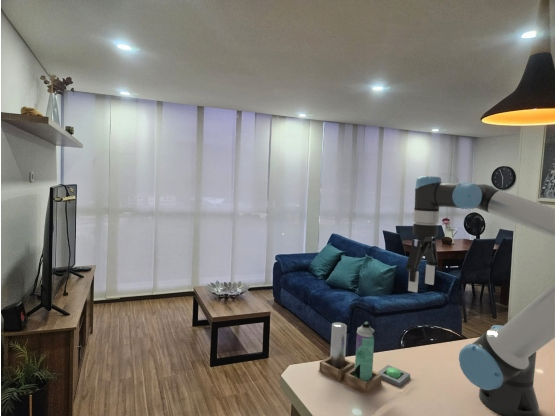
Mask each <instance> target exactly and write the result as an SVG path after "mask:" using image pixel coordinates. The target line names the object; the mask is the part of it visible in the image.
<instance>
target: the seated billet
mask: <svg viewBox="0 0 555 416" xmlns="http://www.w3.org/2000/svg"><path fill="white" fill-rule="evenodd" d="M347 328H348V325H347V324H346V323H343V322H337V321H335V322H332V324H331V335H330V336H331V337H330V356H329V357H330V365H331V366H333V367H335V368H338V369H342V368H343V367H345V359H346V350H347V349H346V348H347V347H346V346H347V331H348V330H347Z"/></svg>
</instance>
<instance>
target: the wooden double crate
mask: <svg viewBox="0 0 555 416" xmlns="http://www.w3.org/2000/svg"><path fill="white" fill-rule="evenodd" d="M317 372H319V373H321V374H322V375H325V376H326V377H329V378H330V379H332V380H335V381H337V382H338V383H341V384H342V385H345V386H347V387H349V388H350V389H353V390H355V391H357V392H358V393H361V394H363V395H364V396H369V395H370V394H372V393H373V392H374V391H376V389H378V388H380V387H381V386H382V385H383V384H384V383H383V382H382V381H383V380H382V375H381V374H379V373H377V372H378V371H377V372H376V371H374V370H372V379H371V380H370V381H368V382H366V381H363V380H361V379H359V378H357V377H355V361H354V362H353V361H350V360H349V359H347V358H345V367H343V368H342V369H338V368H335V367H333V366H331V365H330V356H328V357H326V358H324V359H323V360H321V361H319V370H317Z"/></svg>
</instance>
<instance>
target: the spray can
mask: <svg viewBox="0 0 555 416" xmlns="http://www.w3.org/2000/svg"><path fill="white" fill-rule="evenodd" d="M355 339H356V341H355V343H356V344H355V361H354V363H355V377H357V378H359V379H361V380H363V381H366V382H368V381H370V380H371V379H372V371H374V370H373V369H374V368H373V366H374V349H375V348H374V347H375V329H374V328H372V327H371V326H370V322H369V321H363V323H362V324H361V326H358V327H357V330H356V338H355Z"/></svg>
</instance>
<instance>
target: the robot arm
mask: <svg viewBox="0 0 555 416" xmlns="http://www.w3.org/2000/svg"><path fill="white" fill-rule="evenodd" d="M414 192H415V193H414V208H413V209H414V211H413V213H412V215H413V222H414V223H413V225H412V234H413V235H414V236H416V239H412V240H411V242H412V243H411V248H410V251H409V254H408V255H409V256H408V258H407V262H406V267H405V270H406V271H408V286H407V287H408V288H407V291H408V292H412V293H418V290H419V289H418V287H419V286H418V285H419V276H420V274H419V273H420V272H419V271H418V270H419V268H420V264H421V262H422V260H423V256H424V257H425V260H426V263H427V264H425V276H424V277H425V278H424V284H427V285H432V286H434V284H435V274H436V273H435V269H436V267H437V266H439V258H438V251H437V236H438V233H439V232H438V231H439V226H438V224H439V219H440V218H439V217H440V208H443V207H444V208H454V209H461V210H468V209H470V210H473V209H478V210H481V211H484V212H486V213H489V214H492V215H494V216H497V217H499V218H502V219H505V220H507V221H510V222H512V223H514V224H517V225H520V226H522V227H525V228H528V229H531V230H533V231H536V232H538V233H541V234H543V235H545V236H548V237H551V238H553V239H555V208H554V207H552V206H548V205H545V204H542V203H539V202H537V201H533V200H530V199H527V198H525V197H522V196H521V197H520V196H518V195H515V194H512V193H509V192H506V191H503V190H499V189H497V188H495V187H494V186H493V185H489V184H483V183H482V184H478V183H470V182H442V178H441V177H440V176H431V175H430V176H427V175H426V176H425V175H423V176H418V177H417V178H416V180H415V189H414ZM554 339H555V282H554V283H553V284H551V285H550V286H548V288H547V289H545V290H544V291H543V292H541V294H539V295H538V296H537V297H536V298H535V299H533V301H531V302H530V303H528V304H527V306H525V307H524V308H523V309H522V310H520V311H519V312H518V313H517V314H516V315H515V316H514V317H512V318H511V319H509V321H508V322H506V323H505V324H504V325H501V324H500V325H499V324H497V325H496V324H494V325H492V326H491V327H490V329H488V330H487V331H485V332H484V333H483V334H482V335H481V336H479V338H477V339H476V340H475V341H474V342H472V343H469V344H466V345H465V346H463V347H462V348H461V349H460V351H459V353H458V362H459V367H460V369H461V371H462V373H463V375H464V376H465V377H466V379H467V380H468V381H469V382H470V383H471V384H473V385H474V386H475V387H477V388H479V389H478V390H479V391H478V392H479V393H478V398H479V400H480V401H481V403H483V404H484V406H486V407H487V408H489V409H490V410H491V411H494V412H495V413H498V414H499V415H501V416H539V412H540V405H539V402H538V399H537V395H536V392H535V388H534V387H535V386H534V380H535V371H536V370H535V369H536V359H537V352H538V351H539V350H540V349H541V348H543V347H544V346H545V345H547V344H548V343H550V342H551V341H552V340H554Z"/></svg>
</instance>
